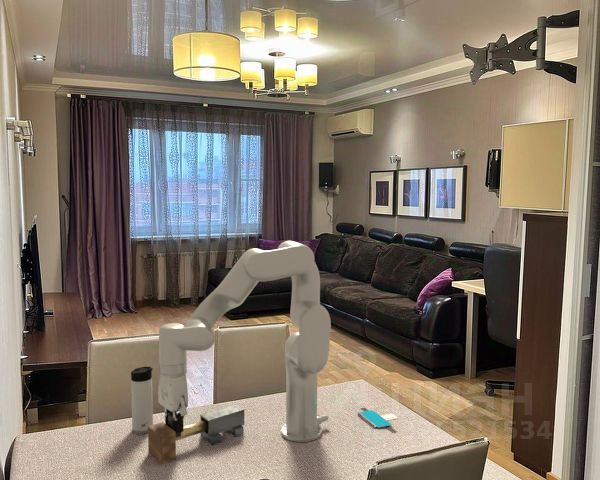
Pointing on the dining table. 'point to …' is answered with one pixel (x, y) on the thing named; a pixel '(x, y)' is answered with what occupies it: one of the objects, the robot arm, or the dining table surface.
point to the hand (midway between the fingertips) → (174, 429)
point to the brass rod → (188, 428)
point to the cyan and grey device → (377, 419)
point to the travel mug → (141, 399)
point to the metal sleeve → (223, 423)
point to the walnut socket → (162, 443)
